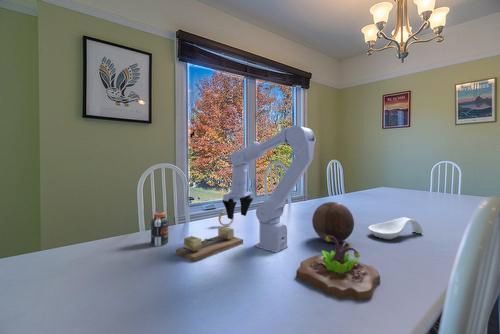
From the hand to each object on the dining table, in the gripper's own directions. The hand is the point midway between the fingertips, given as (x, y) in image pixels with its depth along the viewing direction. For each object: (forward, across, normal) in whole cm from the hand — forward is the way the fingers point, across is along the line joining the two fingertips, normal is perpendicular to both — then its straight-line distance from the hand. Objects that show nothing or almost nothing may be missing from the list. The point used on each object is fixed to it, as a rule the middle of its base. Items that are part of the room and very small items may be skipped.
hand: (237, 216), depth 98 cm
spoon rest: (+5, -46, +47) cm, 66 cm away
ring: (+10, -10, -15) cm, 20 cm away
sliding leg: (+7, +7, 0) cm, 9 cm away
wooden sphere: (+6, -22, +30) cm, 38 cm away
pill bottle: (+10, +22, -17) cm, 30 cm away
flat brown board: (+9, +14, +1) cm, 16 cm away
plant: (+6, +5, +42) cm, 43 cm away
